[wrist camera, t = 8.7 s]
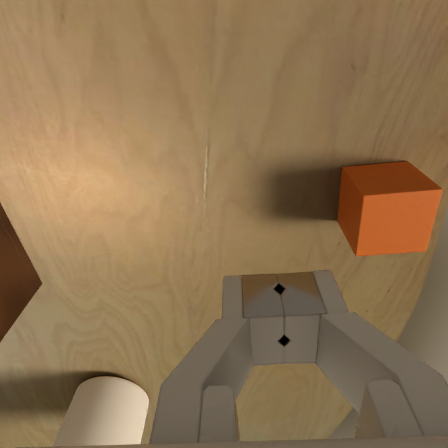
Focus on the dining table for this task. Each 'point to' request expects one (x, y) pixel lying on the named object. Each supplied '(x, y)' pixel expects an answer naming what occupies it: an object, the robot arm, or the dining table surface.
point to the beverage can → (104, 414)
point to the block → (387, 208)
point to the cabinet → (14, 276)
